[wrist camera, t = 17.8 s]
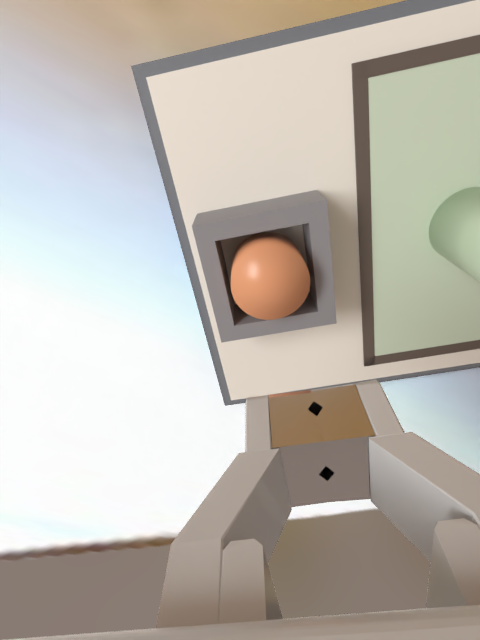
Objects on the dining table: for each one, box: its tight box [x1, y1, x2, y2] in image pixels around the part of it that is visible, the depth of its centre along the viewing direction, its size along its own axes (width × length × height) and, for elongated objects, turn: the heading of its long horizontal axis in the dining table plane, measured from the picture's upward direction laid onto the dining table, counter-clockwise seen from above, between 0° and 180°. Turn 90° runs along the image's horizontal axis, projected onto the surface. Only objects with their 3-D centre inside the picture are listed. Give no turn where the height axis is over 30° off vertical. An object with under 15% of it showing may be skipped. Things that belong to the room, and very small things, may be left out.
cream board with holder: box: [131, 0, 480, 406], centre depth 18 cm, size 21×18×4 cm
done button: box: [231, 232, 310, 320], centre depth 17 cm, size 3×3×2 cm
